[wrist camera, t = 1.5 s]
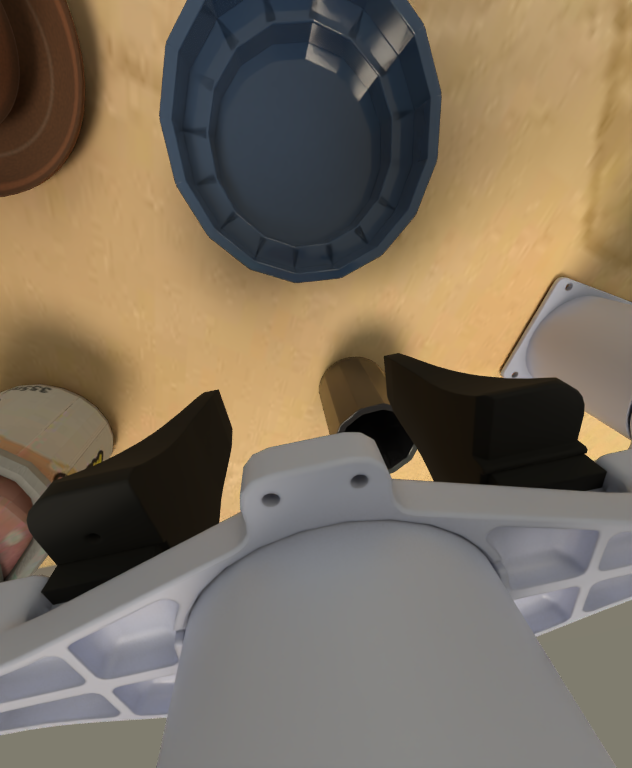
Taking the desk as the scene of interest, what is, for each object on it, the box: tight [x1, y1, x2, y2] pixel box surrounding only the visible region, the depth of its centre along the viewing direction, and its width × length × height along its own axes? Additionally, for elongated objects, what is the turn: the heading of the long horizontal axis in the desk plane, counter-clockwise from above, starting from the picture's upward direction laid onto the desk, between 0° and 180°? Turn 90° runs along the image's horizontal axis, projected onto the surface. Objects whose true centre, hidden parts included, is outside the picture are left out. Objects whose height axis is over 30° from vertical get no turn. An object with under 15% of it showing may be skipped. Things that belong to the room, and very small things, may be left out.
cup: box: [319, 357, 417, 474], centre depth 22 cm, size 5×5×7 cm
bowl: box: [159, 0, 442, 283], centre depth 16 cm, size 12×12×4 cm
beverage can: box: [0, 384, 113, 583], centre depth 19 cm, size 9×8×12 cm
